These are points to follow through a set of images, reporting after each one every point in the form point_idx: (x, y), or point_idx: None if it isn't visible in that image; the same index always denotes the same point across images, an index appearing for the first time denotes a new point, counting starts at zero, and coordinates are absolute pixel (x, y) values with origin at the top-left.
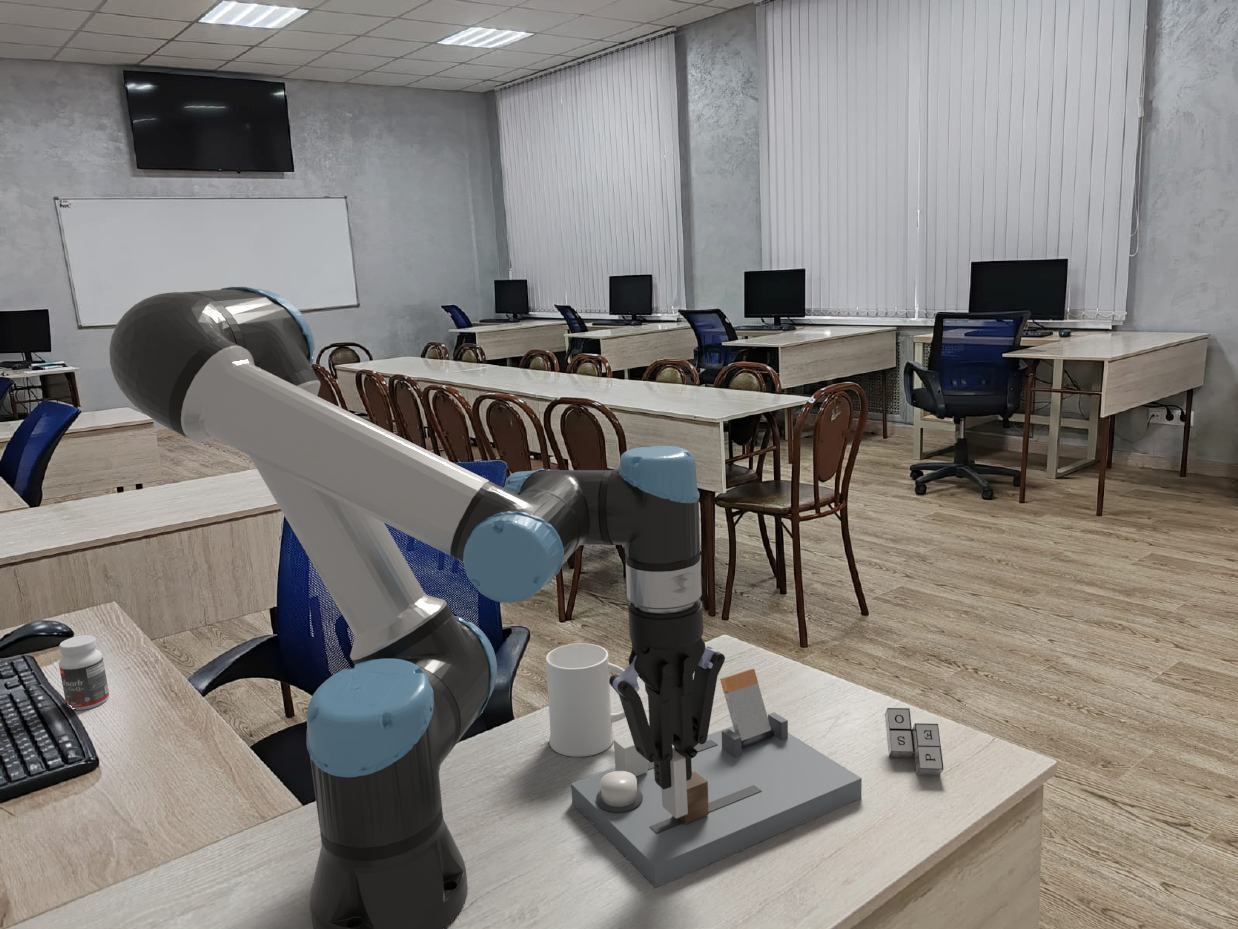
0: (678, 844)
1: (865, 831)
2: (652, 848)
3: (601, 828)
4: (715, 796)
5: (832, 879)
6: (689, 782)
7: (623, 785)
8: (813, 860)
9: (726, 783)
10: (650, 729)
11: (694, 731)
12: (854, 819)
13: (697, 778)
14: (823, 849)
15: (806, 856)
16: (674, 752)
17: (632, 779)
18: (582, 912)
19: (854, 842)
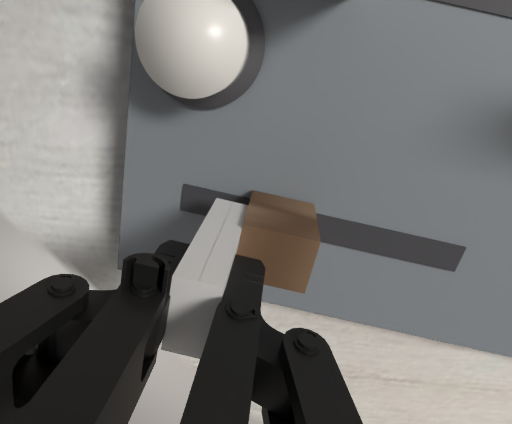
0: None
1: (482, 388)
2: (143, 235)
3: None
4: (373, 211)
5: None
6: (267, 265)
7: (183, 74)
8: (362, 369)
9: (437, 196)
10: (72, 352)
11: (280, 400)
12: (507, 365)
13: (297, 268)
14: (396, 367)
15: (364, 358)
16: (205, 318)
17: (223, 69)
18: (9, 204)
19: (443, 389)
